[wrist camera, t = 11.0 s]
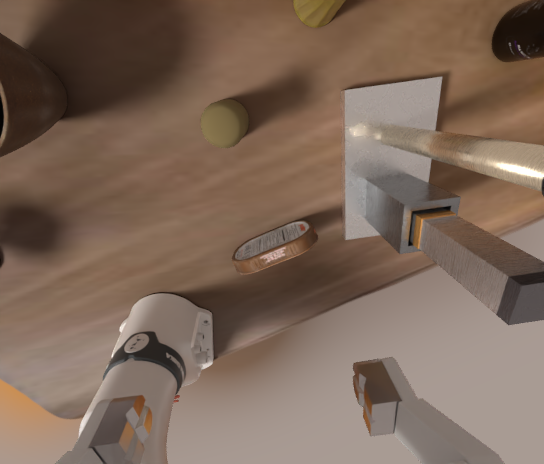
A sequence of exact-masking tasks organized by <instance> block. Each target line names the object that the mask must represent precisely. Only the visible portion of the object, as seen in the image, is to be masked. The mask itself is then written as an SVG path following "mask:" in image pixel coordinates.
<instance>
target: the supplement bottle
mask: <svg viewBox="0 0 544 464" xmlns="http://www.w3.org/2000/svg"><path fill="white" fill-rule="evenodd" d="M492 49H493V53H494V55H495V56H496V57H497V58H498V59H499V60H501V61H503V62H515V61H522V60H528V59H535V58H541V57H544V0H530V1H528V2H525V3H522V4H520V5H518V6H515V7H514V8H512V9H511V10H509V11H508V12H507V13H506V14H505V15H504V16H503V17H502V19H501V20H500V21H499V23H498V25H497V26H496V29H495V31H494V34H493V38H492Z"/></svg>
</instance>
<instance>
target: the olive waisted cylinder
mask: <svg viewBox="0 0 544 464" xmlns="http://www.w3.org/2000/svg"><path fill="white" fill-rule="evenodd" d="M248 127H249V117H248V114H247V111H246V110H245V108H244V107H243V105H241V104H240V103H239V102H238V101H235V100H232V99H223V100H220V101H218V102H215V103H212V104H210V105H209V106H208V107H207V108H206V109H205V110H204V112H203V114H202V117H201V130H202V132H203V135H204V137H205V138H206V139H207V140H208V142H210V143H211V144H212V145H214V146H216V147H219V148H229V147H232V146H235V145H236V144H237V143H238V142H239V141H240V140H241V138H242V137H244V135H245V134H246V132H247V130H248Z"/></svg>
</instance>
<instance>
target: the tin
mask: <svg viewBox="0 0 544 464" xmlns="http://www.w3.org/2000/svg"><path fill="white" fill-rule="evenodd" d="M317 240H318V235H317V233H316V232H315V229H314V227H313V225H312V224H311V223H310V222H308V221H295V222H292V223H289V224H286V225H284V226H281V227H279V228H276V229H274V230H272V231H269V232H267V233H264V234H262V235H259V236H257V237H255V238H252V239H250V240H248V241H247V242H245V243H243V244H242V245H241V246H239V247H238V248H237V249H236V250H235V252H234V254H233V256H232V262H233V264H234V265H235V267H236V270H237V272H238V273H240V274H252V273H255V272H258V271H261V270H263V269H266V268H268V267H271V266H273V265H276V264H278V263H281V262H283V261H286V260H288V259H291V258H293V257H296V256H298V255H301V254H303V253H305V252H306V251H308V250H309V249H310V248H312V247H313V246H314V245H315V244H316V242H317Z"/></svg>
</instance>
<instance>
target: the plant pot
mask: <svg viewBox="0 0 544 464" xmlns="http://www.w3.org/2000/svg"><path fill="white" fill-rule="evenodd" d="M67 103H68V100H67V93H66V90H65V88H64V86H63V84H62V82H61V81H60V79H59V78H58V77H57V76H56V75H55V74H54V73H53V72H52V71H51V70H50V69H49V68H48V67H47V66H46V65H44V64H43V63H42V62H41V61H39V60H38V59H37V58H36V57H34V56H33V55H32V54H30V53H29V52H28V51H26V50H25V49H24V48H22V47H21V46H19V45H18V44H16V43H15V42H13V41H12V40H10V39H9V38H7V37H6V36H4V35H2V34H1V33H0V157H2V156H4V155H6V154H8V153H11V152H13V151H15V150H17V149H19V148H21V147H23V146H25V145H26V144H28V143H30V142H31V141H33V140H35V139H36V138H38V137H39V136H41V135H42V134H44V133H45V132H46V131H47V130H49V129H50V128H51V127H52V126H53V125H54V124H55V123H56V122H57V121H58V120H59V119H60V118H61V117H62V116H63V114H64V113H65V111H66V108H67Z"/></svg>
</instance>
